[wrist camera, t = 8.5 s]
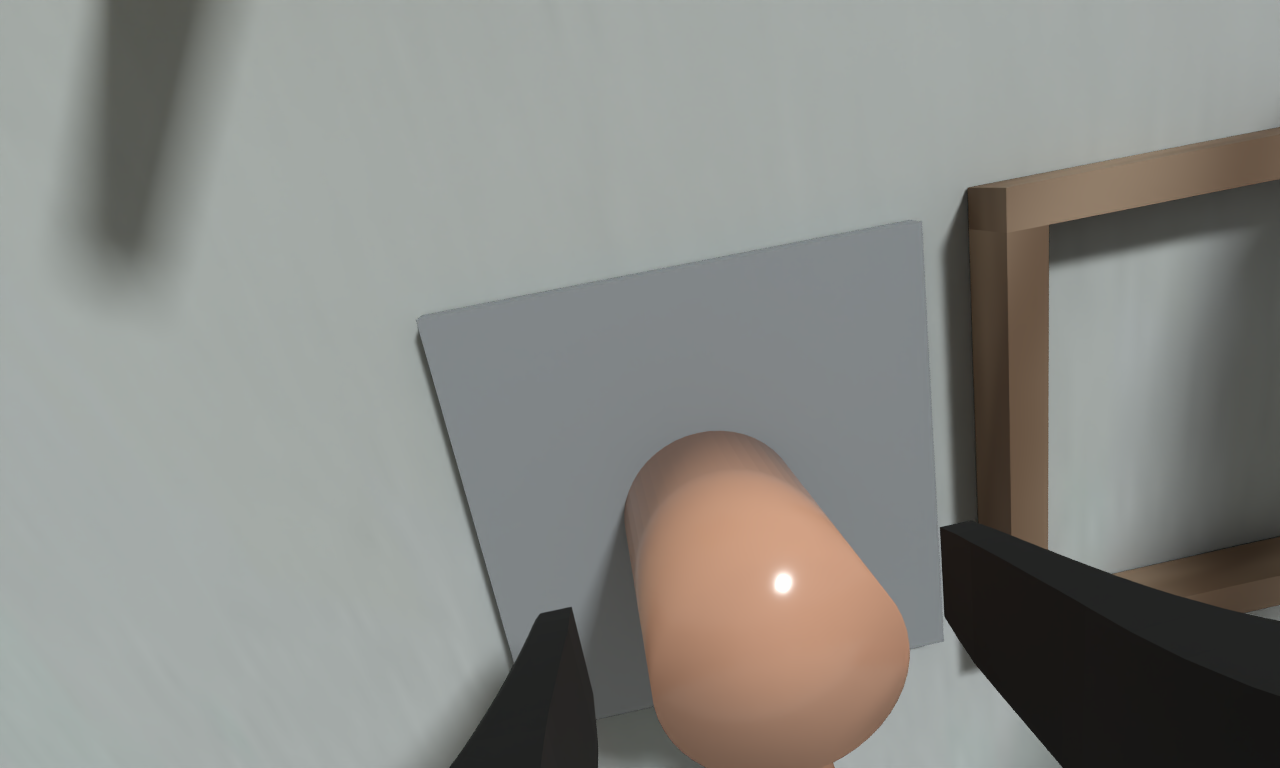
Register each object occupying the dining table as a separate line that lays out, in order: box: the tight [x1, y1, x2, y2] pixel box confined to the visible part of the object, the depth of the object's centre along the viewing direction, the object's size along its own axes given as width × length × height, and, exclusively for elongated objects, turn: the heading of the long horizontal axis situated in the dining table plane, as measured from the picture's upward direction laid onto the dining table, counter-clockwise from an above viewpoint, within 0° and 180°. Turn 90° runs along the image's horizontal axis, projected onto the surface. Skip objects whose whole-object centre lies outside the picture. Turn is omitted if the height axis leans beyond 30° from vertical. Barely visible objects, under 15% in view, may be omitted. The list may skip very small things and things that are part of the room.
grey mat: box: [416, 220, 944, 720], centre depth 17 cm, size 12×12×1 cm
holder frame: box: [968, 127, 1280, 613], centre depth 18 cm, size 13×13×2 cm
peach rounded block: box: [624, 431, 910, 768], centre depth 15 cm, size 6×5×6 cm
